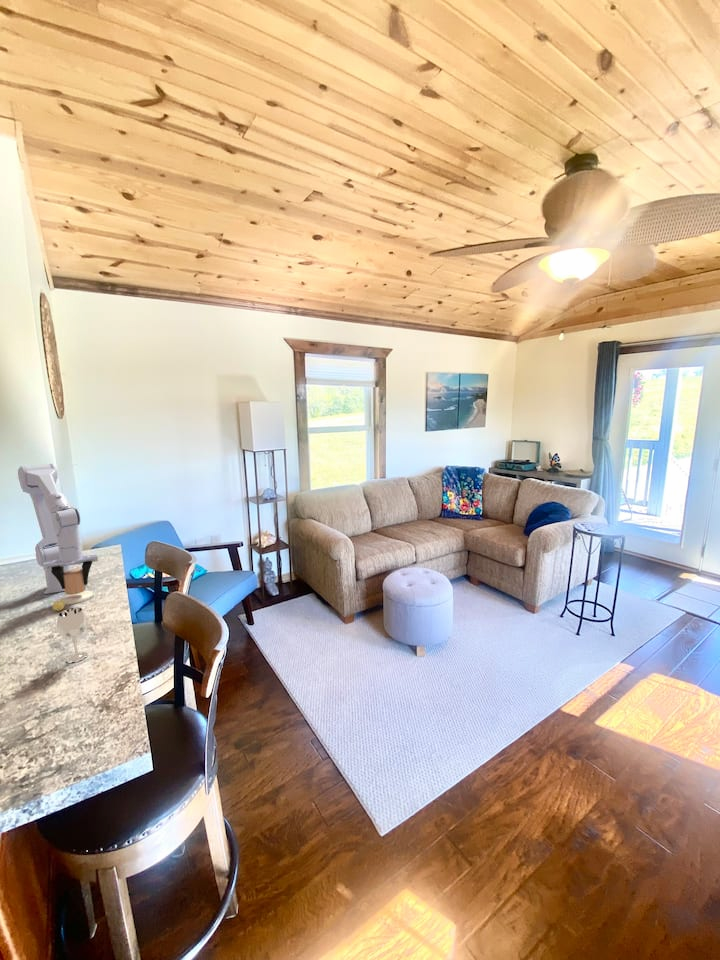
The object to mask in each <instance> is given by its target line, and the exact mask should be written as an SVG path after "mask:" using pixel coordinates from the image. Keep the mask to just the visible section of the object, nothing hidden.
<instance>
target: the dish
mask: <svg viewBox="0 0 720 960" xmlns="http://www.w3.org/2000/svg"><path fill="white" fill-rule="evenodd" d="M93 597H94V593H93V591H91V590H85V591H83V592H81V593H78V594H74V595H67V594H65V595H63V596H62V597H60V598H59V601H63V602H64V604H65V606H68V605H69V606H70V605H76V604H80V603H84V602H86V601H88V600H90V599H91V598H93Z"/></svg>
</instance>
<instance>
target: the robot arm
mask: <svg viewBox="0 0 720 960" xmlns="http://www.w3.org/2000/svg"><path fill="white" fill-rule="evenodd" d="M17 476H18V477H17V479H18V481H19V484H20V489H22V492H23V493H25V494H29V496H30V498H31V501H32V504H33V508H34V511H35V515H36V519H37V522H38V526H39V529H40V532H41V537H42V538H41V540H40V541H39V542H37V544H36V545H35V548H34V550H35V558H36V563H37V564H38V566H40V567H42V568H43V570H44V575H45V582H46V589H45V591H44V592H43V594H44V595H47V594H55V593H59V592H65V587H64V581H63V573H64V572H66V571H69V570H73V569H72V566H73V565H79V564H80V565H81V564H82V565H81V569H82V570H83V575H84V585H86V586H87V585H88V583H89V574H90V570H91V567H92V566H93V563H97V562H99V561H100V559H99V554H98V553H97V554H87V555H82V547H81V540H80V539H81V538H80V533H79V532H80V531H79V525H80V524H81V516H80V512H79V510H78V508H77V507H75V506H73V505H71V504H70V502H69V501H68V499H67V497H66V495H65V494H64V493H60V492H59V489H58V486H57V480H58V476H59V474H58V469H57V467H56V466H55V465H54V464H53V463H49V464H40V465H25V466H24V465H22V466H21V465H20V466H19V468H18V469H17Z"/></svg>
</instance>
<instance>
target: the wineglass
mask: <svg viewBox="0 0 720 960" xmlns="http://www.w3.org/2000/svg"><path fill="white" fill-rule="evenodd" d="M56 624H57V631H58V632H57V633H58V634H59V635H60V636H61V638H64V639H71V642H72V644H73V647H74V654H72V655H70V656H71V657H70V656H69V657H70V658H69V659H68V660H70V661H77V660H79V659H82V658H84V657H86V656H87V657H88V656H89V653H88V652H86V651H83V652H78V648H77V646H78V645H77V643H78V638H77V637H78V636H80V635H83V634H84V632H86V629H87V627H88V621H87V617H86V613H85V612H84V610H83V608H82V607H79V606H78V607H72V608H68V609H64V610H61V611H59V613H58V616H57V623H56ZM85 652H86V653H85ZM87 654H88V655H87ZM87 657H86V658H87Z"/></svg>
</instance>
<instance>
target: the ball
mask: <svg viewBox="0 0 720 960" xmlns="http://www.w3.org/2000/svg"><path fill="white" fill-rule="evenodd" d="M65 606H66V605H65V604H64V602H63V601H60V600H57V601H54V603H53V604H52V609H53V611H54V612H55V611H56V612H61V611H63V609H64V608H65Z"/></svg>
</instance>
